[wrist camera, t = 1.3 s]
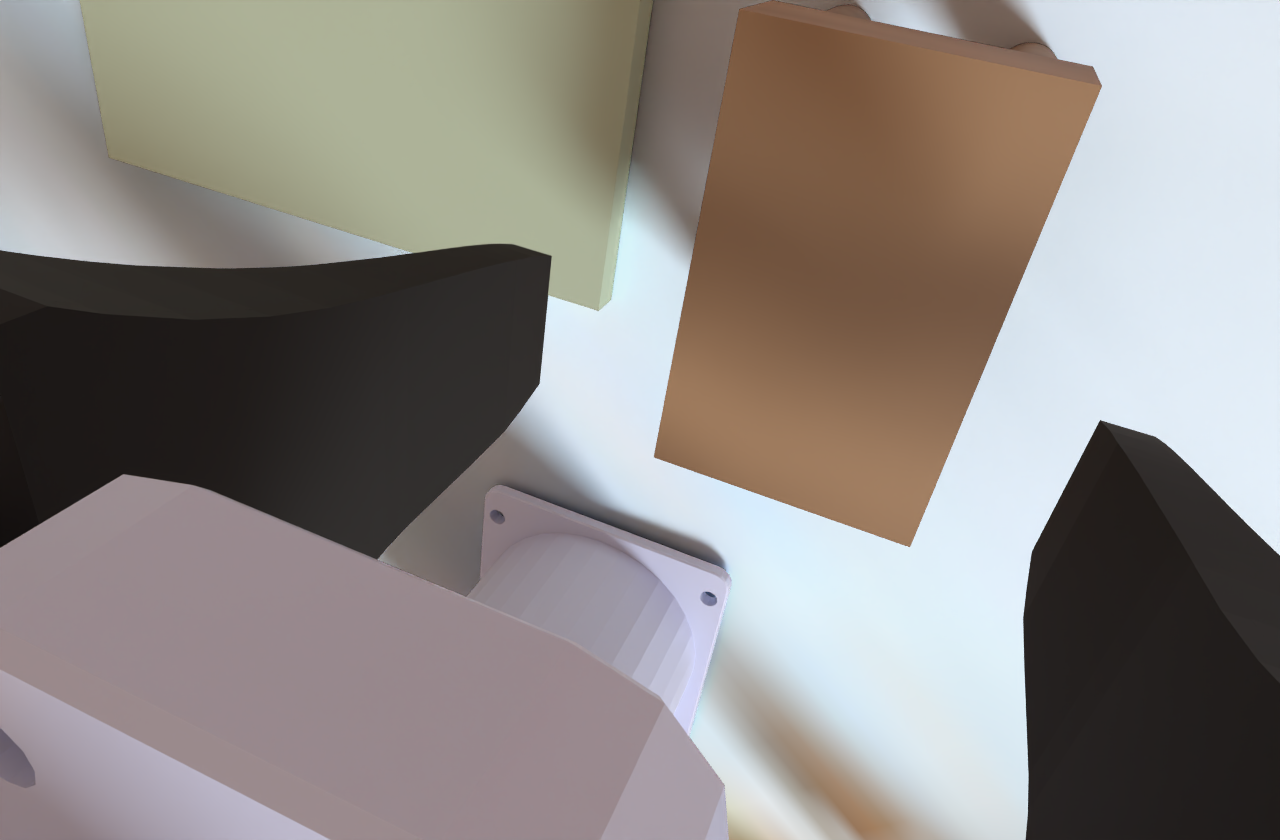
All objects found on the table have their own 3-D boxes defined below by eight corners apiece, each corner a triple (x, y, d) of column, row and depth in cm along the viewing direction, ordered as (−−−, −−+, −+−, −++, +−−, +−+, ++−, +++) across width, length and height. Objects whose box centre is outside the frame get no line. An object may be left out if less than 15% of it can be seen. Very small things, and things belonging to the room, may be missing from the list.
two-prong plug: (938, 400, 20) (910, 547, 16) (738, 339, 22) (653, 457, 17) (1079, 39, 16) (1102, 85, 11) (820, -13, 17) (739, 9, 12)
